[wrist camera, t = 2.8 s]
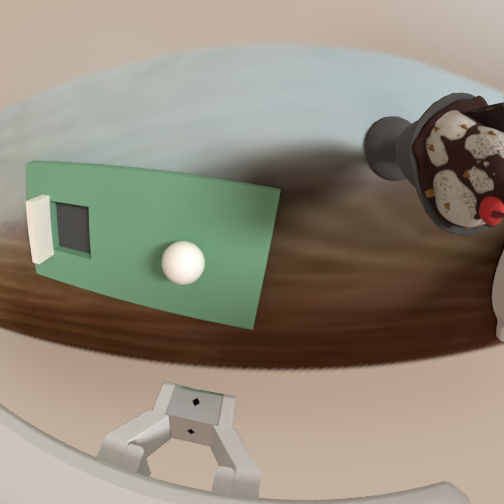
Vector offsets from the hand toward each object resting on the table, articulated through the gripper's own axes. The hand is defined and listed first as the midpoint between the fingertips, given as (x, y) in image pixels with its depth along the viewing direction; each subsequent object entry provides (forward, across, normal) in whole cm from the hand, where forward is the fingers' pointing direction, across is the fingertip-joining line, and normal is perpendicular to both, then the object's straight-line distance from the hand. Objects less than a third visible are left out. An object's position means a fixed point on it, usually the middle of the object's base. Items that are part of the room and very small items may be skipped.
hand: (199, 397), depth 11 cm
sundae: (+14, -10, -11) cm, 21 cm away
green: (+14, +10, 0) cm, 17 cm away
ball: (+11, +4, 0) cm, 12 cm away
